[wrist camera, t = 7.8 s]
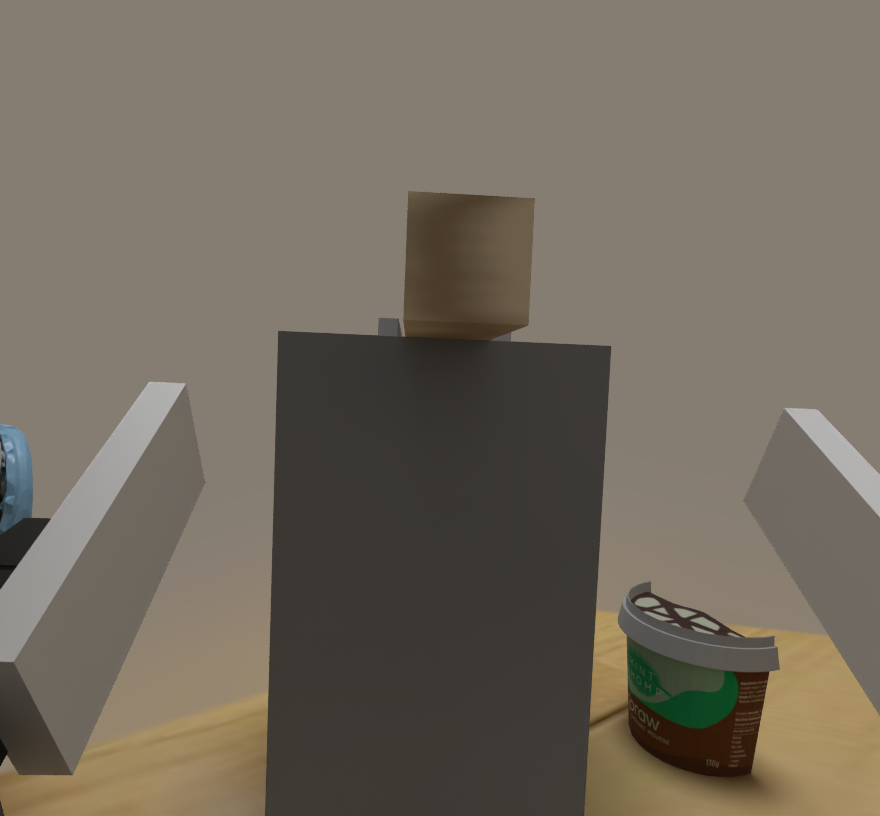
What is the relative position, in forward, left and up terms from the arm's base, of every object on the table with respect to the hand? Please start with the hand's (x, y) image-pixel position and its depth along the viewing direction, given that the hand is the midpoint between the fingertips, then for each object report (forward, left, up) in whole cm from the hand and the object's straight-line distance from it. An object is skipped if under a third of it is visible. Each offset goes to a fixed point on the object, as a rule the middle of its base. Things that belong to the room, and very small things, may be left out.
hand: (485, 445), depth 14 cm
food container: (+18, +29, -25) cm, 42 cm away
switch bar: (0, +19, +3) cm, 19 cm away
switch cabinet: (0, +25, -25) cm, 35 cm away
